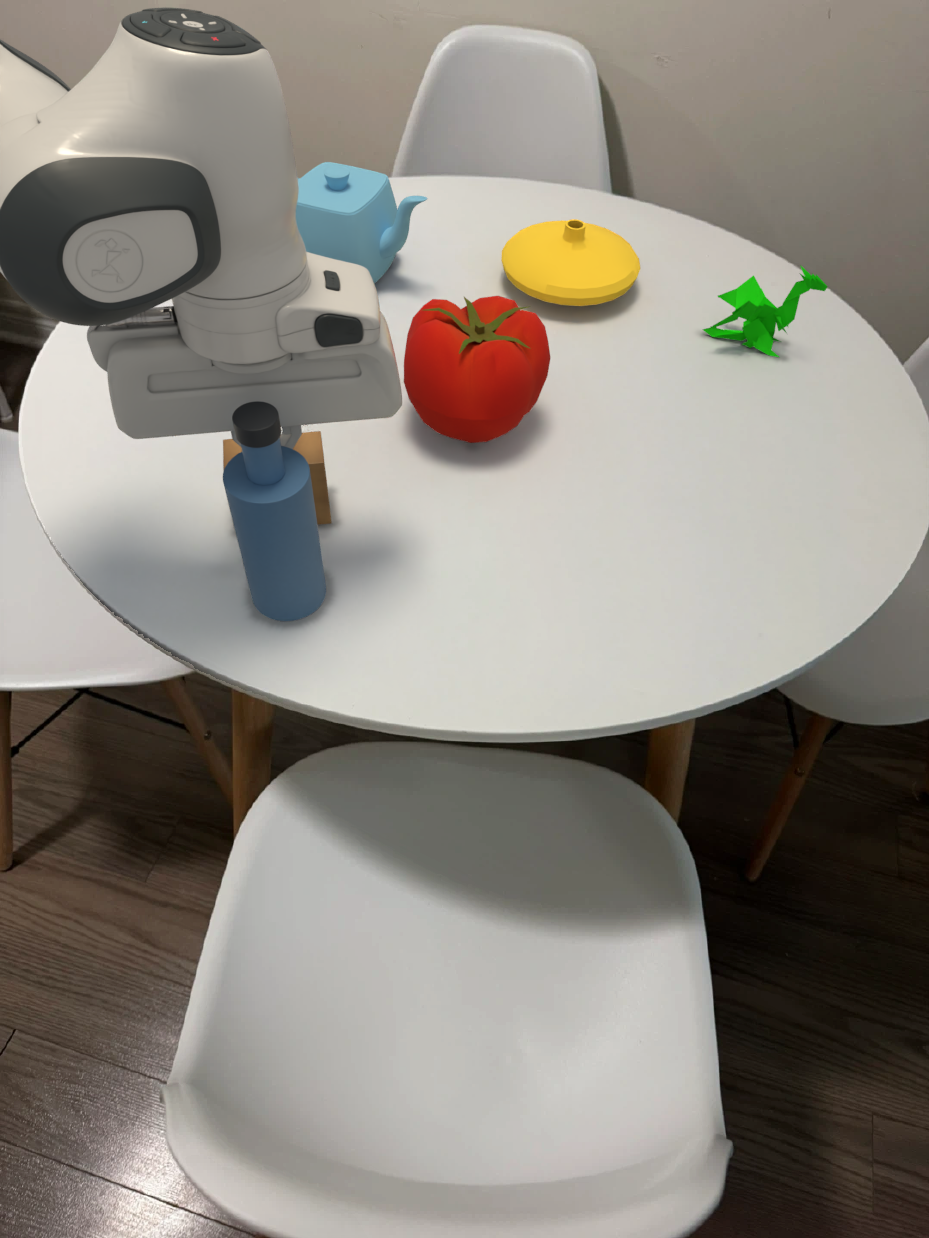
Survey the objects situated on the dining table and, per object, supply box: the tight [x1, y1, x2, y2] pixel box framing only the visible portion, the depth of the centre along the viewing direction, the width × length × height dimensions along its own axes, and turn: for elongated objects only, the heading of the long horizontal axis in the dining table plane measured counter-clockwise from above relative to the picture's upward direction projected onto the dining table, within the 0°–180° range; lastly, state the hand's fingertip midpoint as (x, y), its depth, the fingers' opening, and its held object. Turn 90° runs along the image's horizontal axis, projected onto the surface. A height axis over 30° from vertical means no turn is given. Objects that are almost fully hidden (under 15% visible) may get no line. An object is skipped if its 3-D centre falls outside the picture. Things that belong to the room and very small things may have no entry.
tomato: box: [403, 295, 551, 444], centre depth 81 cm, size 13×14×12 cm
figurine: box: [702, 264, 828, 358], centre depth 92 cm, size 6×12×9 cm, turn 73°
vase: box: [500, 218, 641, 307], centre depth 99 cm, size 16×16×7 cm
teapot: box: [296, 161, 428, 284], centre depth 97 cm, size 12×18×12 cm
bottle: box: [222, 401, 327, 622], centre depth 65 cm, size 6×13×18 cm, turn 10°
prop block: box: [222, 430, 332, 526], centre depth 74 cm, size 8×4×7 cm, turn 100°
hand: (273, 463), depth 68 cm, fingers closed
